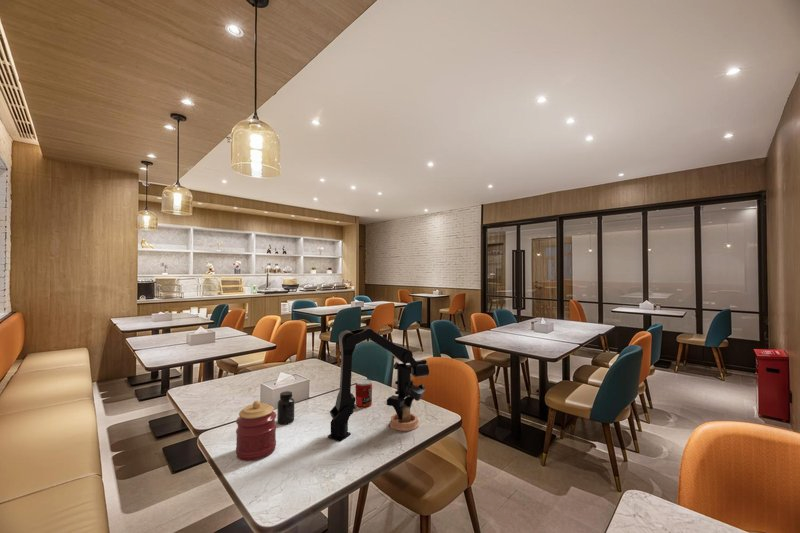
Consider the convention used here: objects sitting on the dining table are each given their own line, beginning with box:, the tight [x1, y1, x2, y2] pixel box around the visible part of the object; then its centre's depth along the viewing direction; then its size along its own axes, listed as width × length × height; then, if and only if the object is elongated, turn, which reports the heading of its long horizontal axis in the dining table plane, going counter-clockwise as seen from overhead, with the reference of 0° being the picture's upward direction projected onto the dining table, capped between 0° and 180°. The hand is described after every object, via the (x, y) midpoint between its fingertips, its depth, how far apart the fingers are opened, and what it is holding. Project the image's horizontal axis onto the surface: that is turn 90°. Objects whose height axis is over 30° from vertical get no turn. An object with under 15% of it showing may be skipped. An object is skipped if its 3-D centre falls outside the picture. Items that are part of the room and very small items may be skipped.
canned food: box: [355, 378, 373, 409], centre depth 159 cm, size 8×8×11 cm
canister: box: [235, 400, 277, 462], centre depth 117 cm, size 13×13×18 cm
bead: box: [398, 406, 411, 423], centre depth 138 cm, size 5×5×6 cm
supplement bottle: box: [276, 390, 295, 426], centre depth 141 cm, size 7×7×12 cm
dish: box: [389, 412, 420, 432], centre depth 138 cm, size 12×12×3 cm
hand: (404, 416), depth 138 cm, fingers open, 6 cm apart
